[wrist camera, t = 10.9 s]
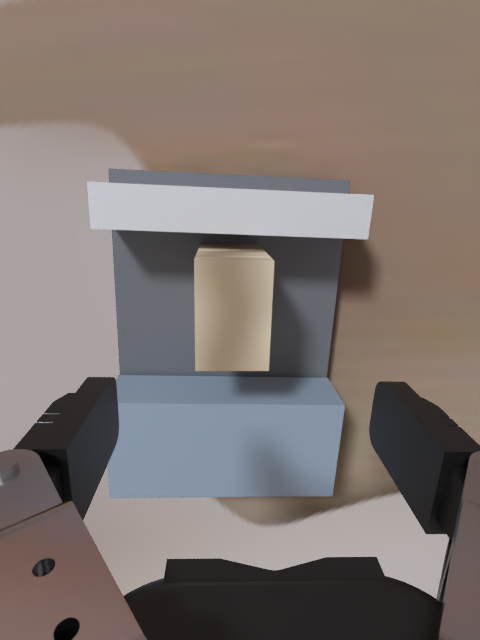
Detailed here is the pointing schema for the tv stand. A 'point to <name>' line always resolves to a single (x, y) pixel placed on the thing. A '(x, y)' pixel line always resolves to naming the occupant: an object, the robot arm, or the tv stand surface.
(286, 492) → the vise jaw
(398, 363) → the tv stand surface
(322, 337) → the panel
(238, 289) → the birch block
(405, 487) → the robot arm
